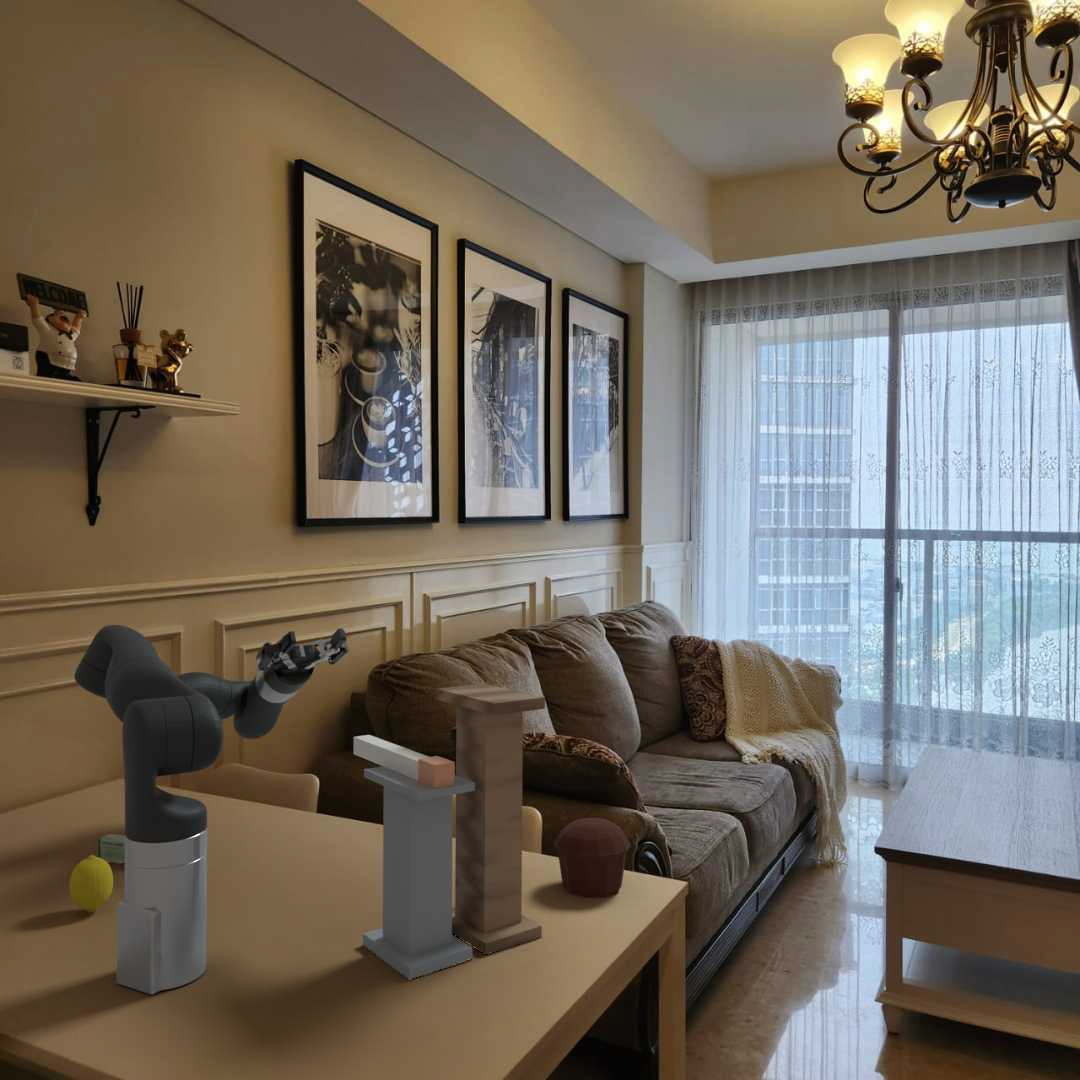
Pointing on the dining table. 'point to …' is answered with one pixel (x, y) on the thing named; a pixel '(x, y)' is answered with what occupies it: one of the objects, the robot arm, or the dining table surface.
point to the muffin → (592, 857)
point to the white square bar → (406, 761)
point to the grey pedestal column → (417, 875)
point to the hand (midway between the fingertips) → (318, 635)
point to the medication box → (112, 848)
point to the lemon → (91, 883)
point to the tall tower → (490, 816)
